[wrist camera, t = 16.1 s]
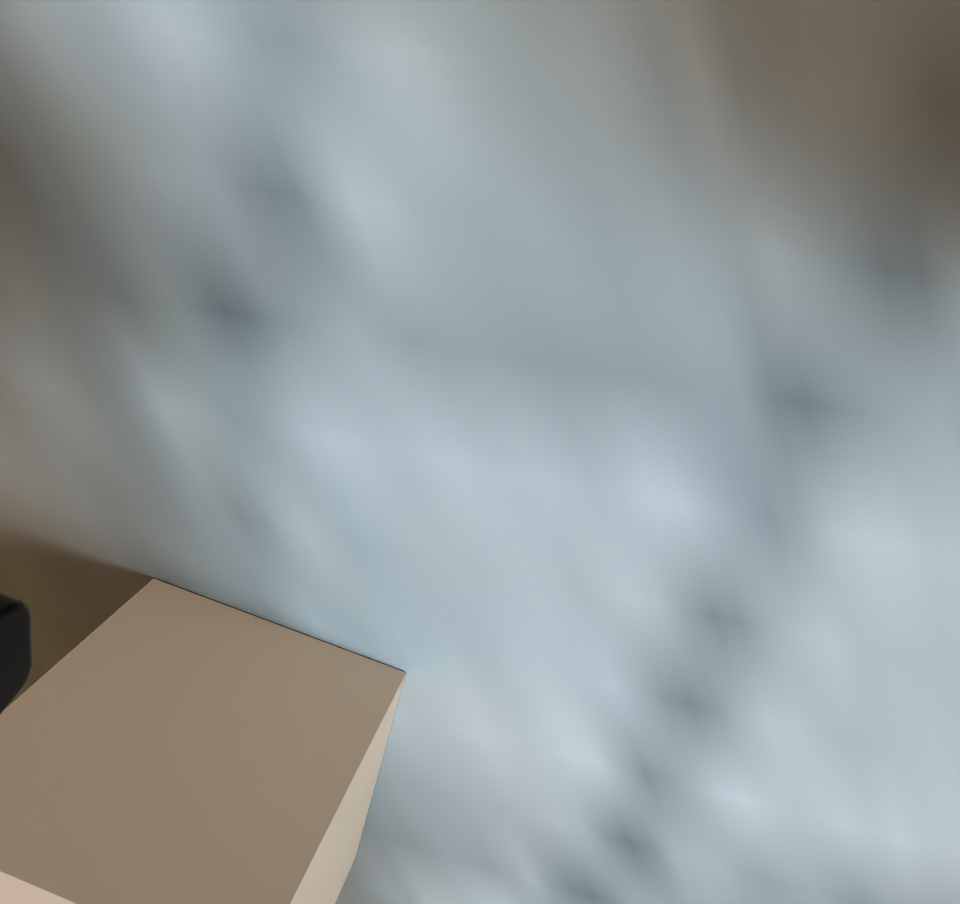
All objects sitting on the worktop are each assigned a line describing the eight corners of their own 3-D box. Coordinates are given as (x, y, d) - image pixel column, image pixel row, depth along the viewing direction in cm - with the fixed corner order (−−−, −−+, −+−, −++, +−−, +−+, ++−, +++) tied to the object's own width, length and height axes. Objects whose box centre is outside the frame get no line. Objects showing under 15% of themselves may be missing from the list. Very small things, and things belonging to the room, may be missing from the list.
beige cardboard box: (406, 672, 23) (252, 978, 15) (355, 857, 26) (207, 1187, 18) (153, 578, 23) (-121, 819, 16) (135, 769, 27) (-98, 1047, 19)
